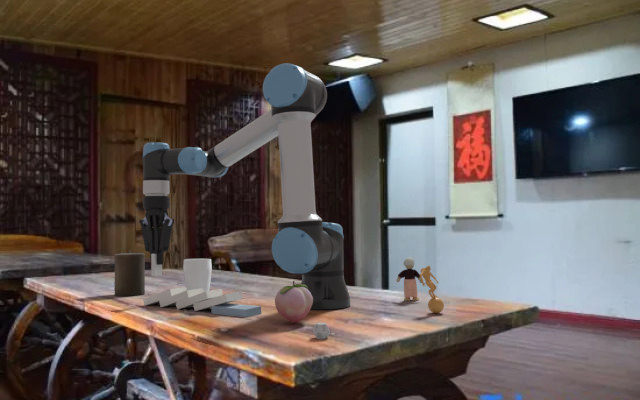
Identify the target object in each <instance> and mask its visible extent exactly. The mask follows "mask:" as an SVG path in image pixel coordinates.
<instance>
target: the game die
mask: <svg viewBox="0 0 640 400" xmlns="http://www.w3.org/2000/svg"><path fill="white" fill-rule="evenodd" d="M311 330H312V332H313V334H314V336H315V338H316V339H317V340H326V339H327V338H328V337H329V336H330V333H331V331H330V328H329V327H328V325H327V323H326V322H317V323H315V324H314V325H313V327H312V329H311Z"/></svg>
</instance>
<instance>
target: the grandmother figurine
mask: <svg viewBox="0 0 640 400" xmlns="http://www.w3.org/2000/svg"><path fill="white" fill-rule="evenodd" d="M415 263H416V261H415V259H414V258H413V257H411V256H409V257H406V259H404V260H403V263H402V264H403V265H404V266H405V268H406V269H403V270H402V271H400V272H399V274H397V279H396V282H397V283H399V282H400V281H401V280H402V279H403V278H404V280H403V292H404V293H403V295H404V298H403V300H404V301H405V302H407V301H409V302H411V301H420V298H419V297H418V284H417V280H418V282H419V283H420V284H422V281H421V278H420V274H421V273H419V272H418V271H417V270H416V269H415V268H414V266H415ZM411 298H412V300H411Z"/></svg>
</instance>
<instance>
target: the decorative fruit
mask: <svg viewBox="0 0 640 400" xmlns="http://www.w3.org/2000/svg"><path fill="white" fill-rule="evenodd" d="M306 288H307V289H306ZM312 303H313V297H312V295H311V293H310V291H309V290H308V287H307V286H306V285H303V284H301V283H295V280H293V281H292V285H286V286H284V287H282V288H281V289H279V290H278V291H277V293H276V295H275V298H274V305H275V308H276V309H275V310H276V311H277V313H278V315H280V316H281V317H282V319H285V320H286V321H288V322H290V323H292V324H296V323H299V322H300V321H301V320H302V319H304V318H305V317H306V316H307V315H308V314H309V312H310V310H312V309H311V306H312Z"/></svg>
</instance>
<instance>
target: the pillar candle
mask: <svg viewBox="0 0 640 400" xmlns="http://www.w3.org/2000/svg"><path fill="white" fill-rule="evenodd" d="M128 251H129V253H127V252H126V253H124V252H123V253H115V254H114V281H113V282H114V287H113V288H114V296H116V297H117V296H118V297H133V296H143V295H145V294H146V289H145V288H146V282H145V281H146V280H145V279H146V278H145V277H146V273H145V272H146V269H145V268H146V267H145V265H146V264H145V263H146V262H145V261H146V257H145V255H146V254H145V253H144V252H139V253H138V252H137V253H136V252H131V249H129V250H128Z"/></svg>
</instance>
